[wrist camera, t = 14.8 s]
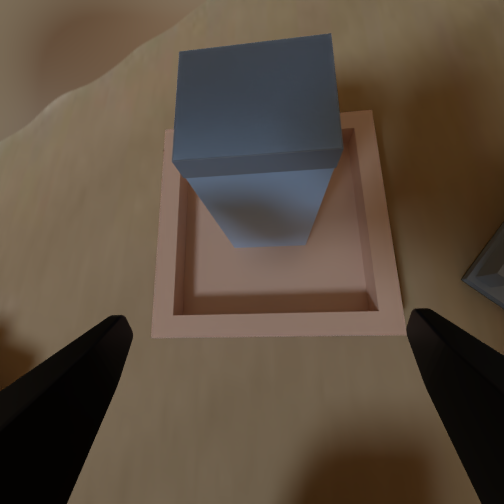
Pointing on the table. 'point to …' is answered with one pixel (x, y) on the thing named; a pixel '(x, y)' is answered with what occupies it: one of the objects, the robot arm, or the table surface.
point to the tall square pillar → (259, 135)
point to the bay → (489, 270)
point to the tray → (282, 260)
